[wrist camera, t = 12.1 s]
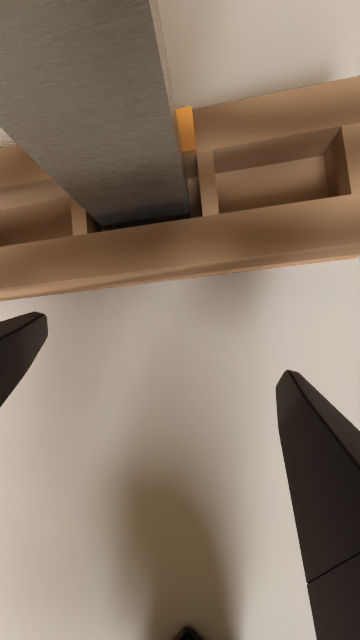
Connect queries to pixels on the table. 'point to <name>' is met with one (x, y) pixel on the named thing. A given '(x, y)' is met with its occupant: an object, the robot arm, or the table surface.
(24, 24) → the gray rectangular block
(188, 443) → the table surface
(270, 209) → the slot rack
